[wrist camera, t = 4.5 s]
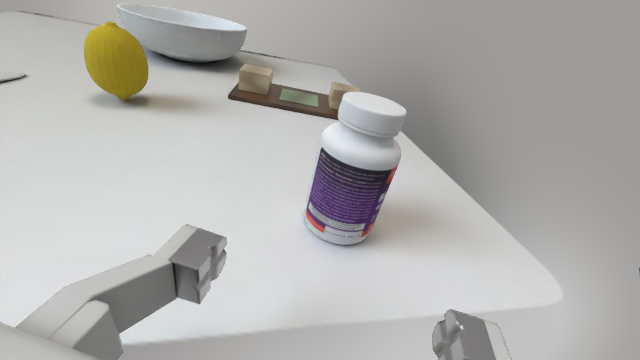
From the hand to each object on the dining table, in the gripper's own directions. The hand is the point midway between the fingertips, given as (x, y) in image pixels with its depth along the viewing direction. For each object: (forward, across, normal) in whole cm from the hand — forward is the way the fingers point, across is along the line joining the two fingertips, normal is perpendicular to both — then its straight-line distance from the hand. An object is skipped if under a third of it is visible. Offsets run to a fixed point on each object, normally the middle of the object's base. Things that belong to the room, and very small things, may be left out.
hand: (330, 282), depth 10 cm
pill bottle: (+10, 0, +6) cm, 12 cm away
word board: (+37, +11, +6) cm, 39 cm away
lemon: (+20, +27, +6) cm, 34 cm away
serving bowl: (+45, +35, +6) cm, 58 cm away
